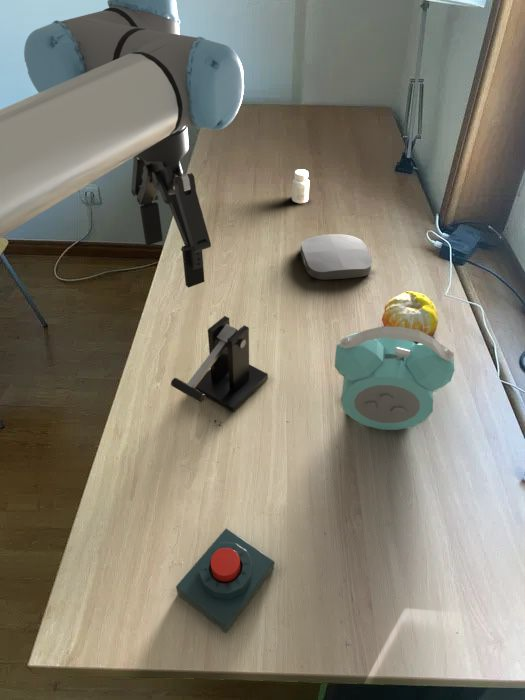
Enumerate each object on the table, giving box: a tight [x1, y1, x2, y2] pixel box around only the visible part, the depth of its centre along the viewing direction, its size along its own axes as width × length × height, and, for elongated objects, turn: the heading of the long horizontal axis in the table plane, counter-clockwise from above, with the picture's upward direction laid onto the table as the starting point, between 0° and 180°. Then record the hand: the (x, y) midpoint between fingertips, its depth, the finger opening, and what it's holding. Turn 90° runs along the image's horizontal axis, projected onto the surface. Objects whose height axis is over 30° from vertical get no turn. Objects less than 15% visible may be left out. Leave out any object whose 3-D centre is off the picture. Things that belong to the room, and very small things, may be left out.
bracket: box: [195, 315, 269, 413], centre depth 94 cm, size 10×9×13 cm
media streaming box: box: [300, 233, 373, 280], centre depth 127 cm, size 15×15×3 cm
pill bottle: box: [291, 168, 310, 204], centre depth 147 cm, size 4×4×8 cm
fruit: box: [381, 291, 439, 344], centre depth 109 cm, size 11×10×8 cm
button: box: [211, 548, 240, 582], centre depth 70 cm, size 4×4×2 cm
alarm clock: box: [334, 325, 455, 431], centre depth 87 cm, size 17×10×20 cm, turn 80°
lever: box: [170, 324, 239, 403], centre depth 90 cm, size 13×6×2 cm, turn 144°
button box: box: [175, 527, 275, 634], centre depth 71 cm, size 10×8×4 cm
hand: (173, 262), depth 86 cm, fingers open, 13 cm apart
